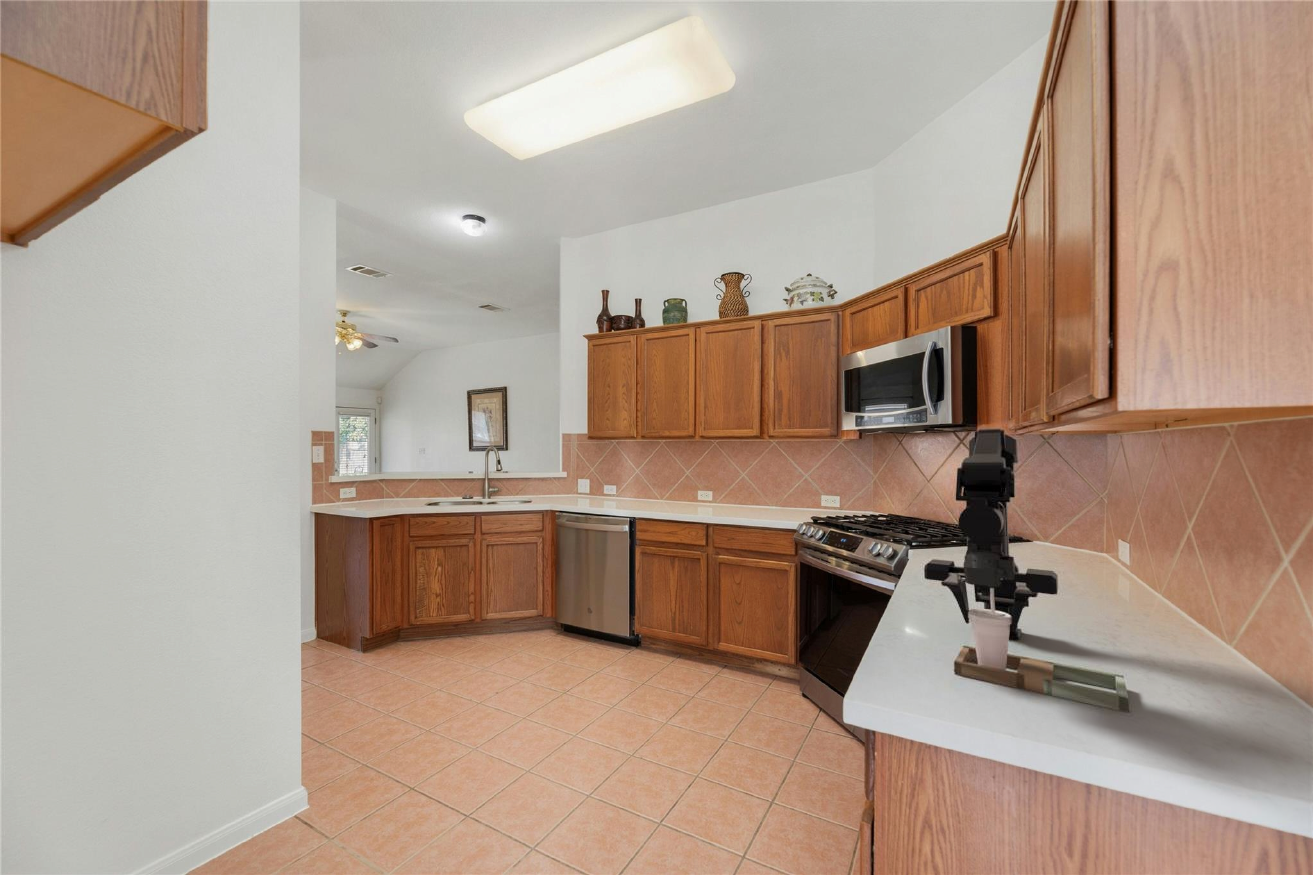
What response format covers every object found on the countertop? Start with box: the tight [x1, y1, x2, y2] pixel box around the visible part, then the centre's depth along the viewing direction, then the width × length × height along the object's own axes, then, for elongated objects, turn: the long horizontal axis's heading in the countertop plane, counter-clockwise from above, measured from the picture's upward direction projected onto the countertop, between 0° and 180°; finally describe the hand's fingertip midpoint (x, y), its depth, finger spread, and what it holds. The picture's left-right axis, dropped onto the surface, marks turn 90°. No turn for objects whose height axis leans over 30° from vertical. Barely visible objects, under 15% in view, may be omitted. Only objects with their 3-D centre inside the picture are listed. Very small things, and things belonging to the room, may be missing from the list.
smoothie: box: [968, 588, 1012, 671], centre depth 87 cm, size 6×6×14 cm
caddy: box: [953, 645, 1130, 713], centre depth 83 cm, size 10×22×2 cm, turn 51°
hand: (990, 626), depth 87 cm, fingers closed on smoothie, 6 cm apart
